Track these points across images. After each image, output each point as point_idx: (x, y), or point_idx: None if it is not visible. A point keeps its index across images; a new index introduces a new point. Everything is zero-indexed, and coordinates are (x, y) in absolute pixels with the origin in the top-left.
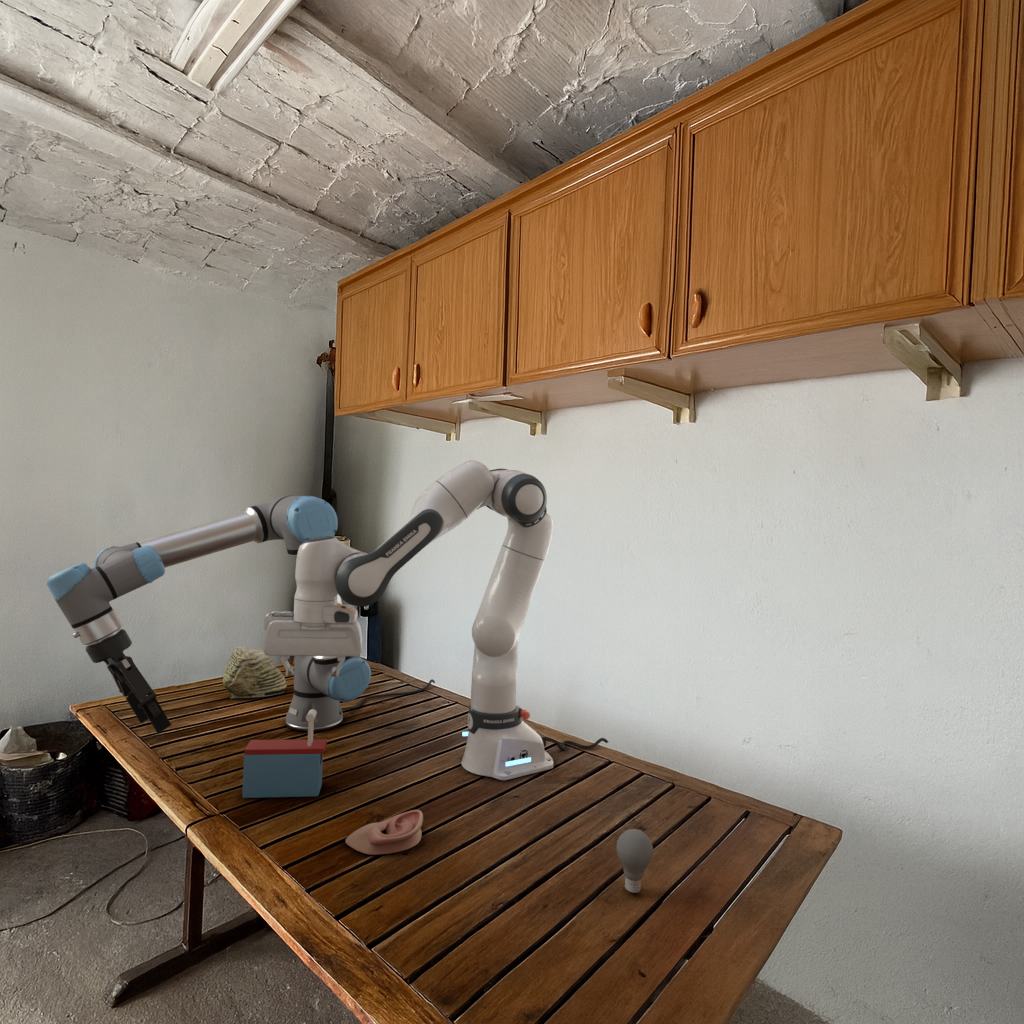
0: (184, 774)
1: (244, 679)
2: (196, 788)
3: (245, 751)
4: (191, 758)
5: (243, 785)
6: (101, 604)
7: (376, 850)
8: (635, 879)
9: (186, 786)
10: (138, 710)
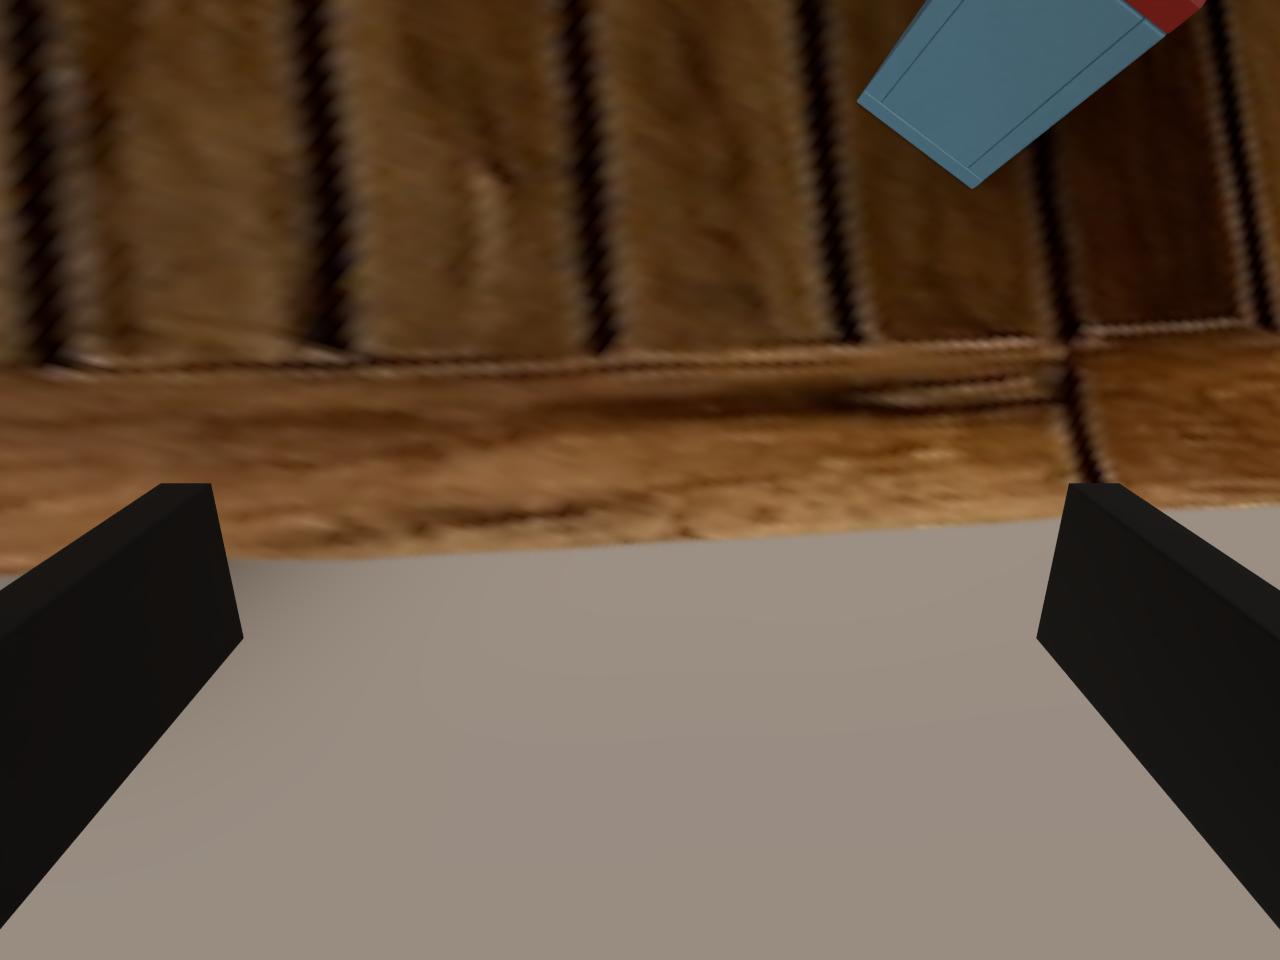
0: (447, 330)
1: None
2: (702, 339)
3: (1193, 10)
4: (190, 206)
5: (1017, 152)
6: None
7: None
8: None
9: (638, 376)
10: (129, 706)
